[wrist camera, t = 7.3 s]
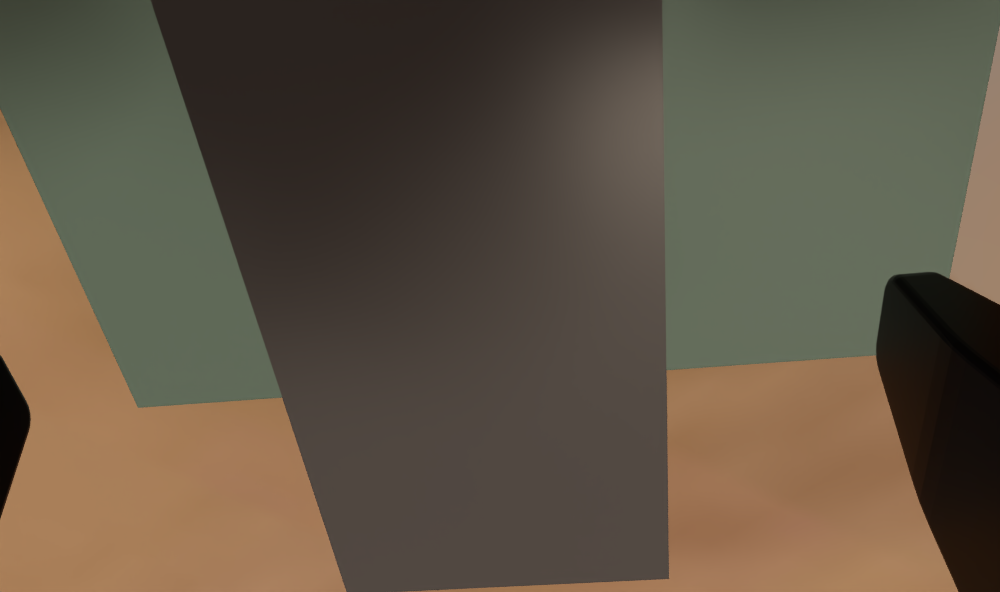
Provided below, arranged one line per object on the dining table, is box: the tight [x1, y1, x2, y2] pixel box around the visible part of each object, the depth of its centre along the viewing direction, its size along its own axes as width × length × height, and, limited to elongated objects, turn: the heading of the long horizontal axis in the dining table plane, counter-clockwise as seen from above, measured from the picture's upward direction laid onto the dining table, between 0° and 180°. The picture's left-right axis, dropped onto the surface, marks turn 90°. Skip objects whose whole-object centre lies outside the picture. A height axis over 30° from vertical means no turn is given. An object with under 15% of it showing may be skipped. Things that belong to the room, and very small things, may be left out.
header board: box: [0, 0, 1000, 408], centre depth 13 cm, size 16×12×6 cm
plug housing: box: [151, 0, 669, 592], centre depth 12 cm, size 4×9×6 cm, turn 6°
